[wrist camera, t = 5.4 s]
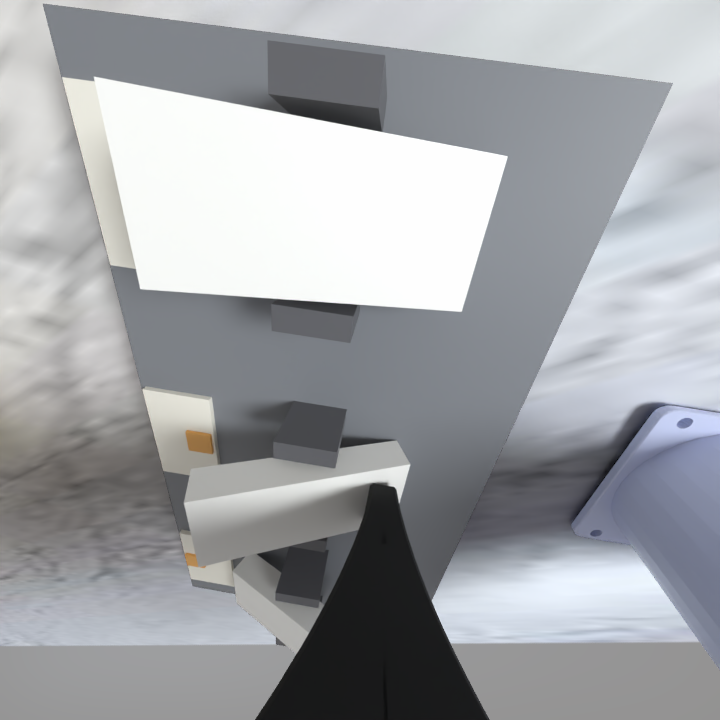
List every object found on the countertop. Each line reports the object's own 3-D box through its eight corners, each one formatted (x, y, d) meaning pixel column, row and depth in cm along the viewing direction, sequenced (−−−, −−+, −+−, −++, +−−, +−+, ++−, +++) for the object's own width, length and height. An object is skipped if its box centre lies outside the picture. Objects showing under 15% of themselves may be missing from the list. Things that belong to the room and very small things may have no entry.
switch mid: (396, 440, 11) (410, 464, 10) (383, 495, 13) (394, 521, 12) (190, 468, 9) (184, 502, 8) (203, 532, 11) (198, 567, 10)
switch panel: (611, 110, 8) (797, 28, 4) (416, 589, 20) (422, 678, 16) (115, 45, 9) (-100, -80, 5) (210, 552, 20) (169, 631, 16)
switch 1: (476, 162, 7) (507, 156, 6) (441, 297, 8) (461, 312, 7) (133, 99, 5) (93, 76, 4) (164, 274, 7) (140, 289, 6)
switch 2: (367, 637, 13) (354, 669, 12) (359, 666, 15) (346, 697, 14) (251, 550, 16) (232, 571, 15) (253, 582, 17) (236, 603, 16)
